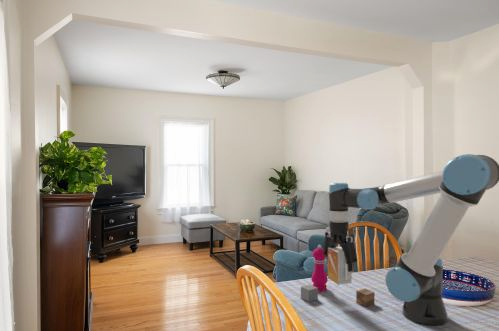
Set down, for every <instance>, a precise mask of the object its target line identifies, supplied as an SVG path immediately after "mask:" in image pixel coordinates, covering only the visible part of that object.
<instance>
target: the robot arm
mask: <svg viewBox="0 0 499 331" xmlns="http://www.w3.org/2000/svg"><path fill="white" fill-rule="evenodd" d="M498 183H499V163H498V162H497V161H496V159H494V158H492V157H490V156H488V155H485V154H472V153H471V154H470V153H466V154H462V155H459V156H456V157H454V158H452V159H450V160H449V161H448V162H447V163H446V164H445V166H444V168H443V170H440V171H436V172H432V173H428V174H424V175H419V176H415V177H411V178H408V179H404V180H400V181H395V182H392V183H388V184H383V185H378V186H375V187H374V186H373V187H366V188H349V184H348V183H347V182H331V183H330V184H329V188H328V190H329V192H328V199H329V200H328V201H329V202H328V203H329V211H328V212H329V213H328V214H329V223H328V224H329V231H325V232H324V243H323V248H322V249H323V254H324V255H326V257H325V258H326V264H327V265H328V248H334V247H337V245H339V247H342V250H343V251H344V255H345V258H346V261H347V263H345V280H349V279H351V280H352V273H353V271H354V268H353V267H354V265H353V264H354V263H357V262H358V258H357V252H356V247H355V237H354V236H349V234H348V232H349V228H350V227H349V222H348V221H349V208H353V209H363V210H374V209H376V207H379V206H385V205H389V204H392V203H397V202H402V201H407V200H412V199H417V198H421V197H422V198H423V197H427V196H431V195H437V194H440V195H439V197H438V199H437V200H436V202H435V204H434V206H433V208H432V209H431V211H430V213H429V215H428V217H427V219H426V220H425V222H424V223H423V226H422V228H421V229H420V231H419V233H418V235H417V237H416V238H415V240H414V241H413V244H412V245H411V247H410V249H409V251H408V252H404V253H402V254H401V255H400V257H399V259H398V261H396V262H397V263H396V265H395V266H394V267H391V268H390V269H389V270H388V271H387V272H386V274H385V281H384V282H385V285H386V287H387V290H388V291H389V293H390V294H391V296H393V297H394V298H395V299H397V300H399V301H400V302H403V305H402V315H403V316H404V317H405V318H406V319H408V320H410V321H412V322H415V323H417V324H422V325H427V326H441V325H445V324H447V322H448V311H447V309H446V305H445V303H444V300H443V273H444V272H443V271H444V270H443V269H444V265H443V260H442V258H441V255H442V253H443V252H444V250H445V249H446V247H447V245H448V243H449V241H450V240H451V238H452V237H453V235H454V233H455V231H456V230H457V228H458V227H459V225H460V223H461V221H462V219H463V218H464V216H465V214H466V213H467V211H468V209H469V208H470V207H475V206H477V205H479V202H480V200H481V199H482V198H483V196H484V195H485V193H486V191H487V190H490V189H492V188H494V187H495V186H496V185H498ZM349 259H350V260H349Z"/></svg>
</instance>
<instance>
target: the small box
mask: <svg viewBox="0 0 499 331" xmlns="http://www.w3.org/2000/svg"><path fill="white" fill-rule="evenodd" d="M349 260H350V259H349ZM345 263H347V261H346V258H345V255H344V251H343V250H342V247H341V246H336V247H334V248H328V264H327V279H329V280H330V281H332V282H334V283H335V284H337V285H338V286H339V285H344V284H345V285H347V284H351V283H352V279H349V280H345Z"/></svg>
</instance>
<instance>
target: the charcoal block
mask: <svg viewBox="0 0 499 331" xmlns="http://www.w3.org/2000/svg"><path fill="white" fill-rule="evenodd" d="M300 299H302V300H304V301H306V302H307V303H310V302H315V301H317V300H318V299H319V291H318V288H317V287H315V286H313V284H307V285H302V286H300Z"/></svg>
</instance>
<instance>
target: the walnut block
mask: <svg viewBox="0 0 499 331" xmlns="http://www.w3.org/2000/svg"><path fill="white" fill-rule="evenodd" d="M355 295H356V299H355V300H356V301H355V303H356V304H359V305H360V306H362V307H365V308H367V307H370V306H371V307H372V306H374V305H375V291H372V290H370V289H366V288H362V289H358V290H356V293H355Z"/></svg>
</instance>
